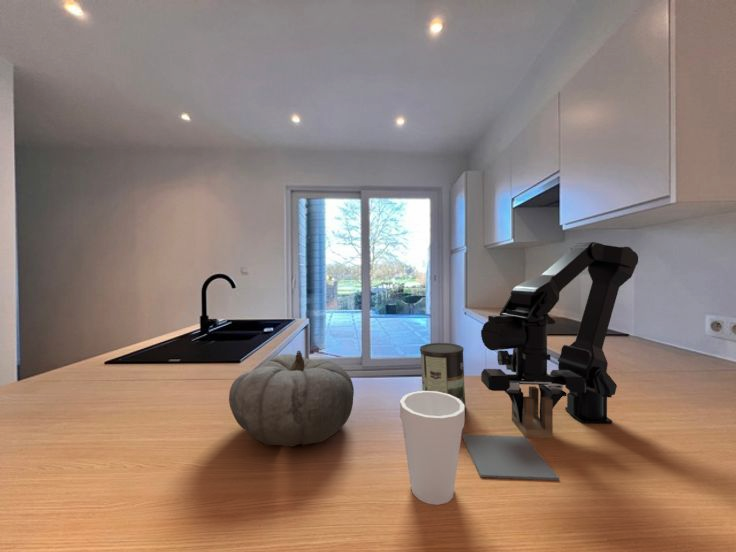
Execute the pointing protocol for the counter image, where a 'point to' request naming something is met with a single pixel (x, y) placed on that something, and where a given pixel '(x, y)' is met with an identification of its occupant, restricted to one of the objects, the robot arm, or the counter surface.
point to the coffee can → (443, 369)
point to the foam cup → (432, 443)
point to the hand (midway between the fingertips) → (530, 421)
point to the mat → (507, 457)
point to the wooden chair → (535, 416)
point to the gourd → (292, 400)
